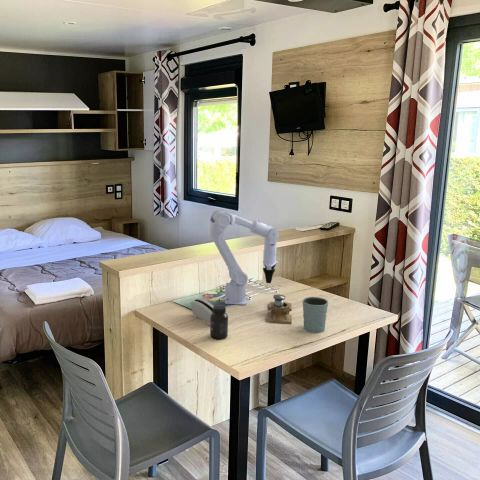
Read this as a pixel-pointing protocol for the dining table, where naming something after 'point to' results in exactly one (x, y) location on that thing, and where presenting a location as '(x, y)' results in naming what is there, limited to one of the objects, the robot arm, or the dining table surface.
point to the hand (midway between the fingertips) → (268, 280)
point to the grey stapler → (202, 309)
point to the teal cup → (314, 314)
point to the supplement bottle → (219, 323)
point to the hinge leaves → (280, 313)
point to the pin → (279, 300)
